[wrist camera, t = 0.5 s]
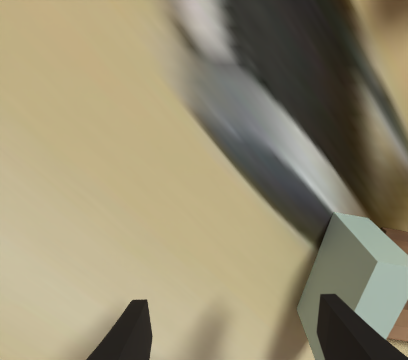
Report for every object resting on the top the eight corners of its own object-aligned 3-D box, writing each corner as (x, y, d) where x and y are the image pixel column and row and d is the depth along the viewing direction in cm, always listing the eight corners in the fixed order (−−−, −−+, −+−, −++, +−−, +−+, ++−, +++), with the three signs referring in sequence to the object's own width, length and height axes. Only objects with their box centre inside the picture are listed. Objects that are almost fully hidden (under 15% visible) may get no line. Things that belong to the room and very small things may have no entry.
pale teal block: (333, 211, 22) (377, 261, 16) (367, 217, 22) (423, 269, 16) (296, 308, 25) (322, 379, 19) (326, 313, 25) (361, 385, 19)
